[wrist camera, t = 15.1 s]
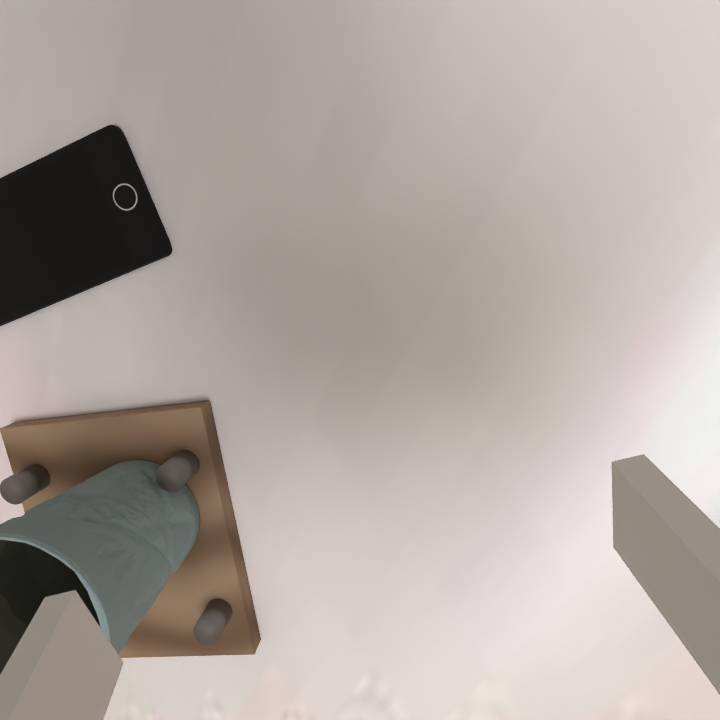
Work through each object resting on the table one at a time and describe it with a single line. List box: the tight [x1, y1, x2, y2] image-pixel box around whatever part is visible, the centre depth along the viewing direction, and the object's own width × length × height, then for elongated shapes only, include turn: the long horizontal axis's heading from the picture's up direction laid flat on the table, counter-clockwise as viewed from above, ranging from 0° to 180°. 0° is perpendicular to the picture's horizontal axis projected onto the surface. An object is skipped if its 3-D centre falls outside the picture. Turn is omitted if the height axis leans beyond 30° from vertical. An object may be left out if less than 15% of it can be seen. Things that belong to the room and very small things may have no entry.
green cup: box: [0, 460, 200, 674], centre depth 32 cm, size 10×10×12 cm
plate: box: [0, 401, 261, 658], centre depth 38 cm, size 20×16×4 cm
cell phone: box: [0, 125, 172, 326], centre depth 36 cm, size 9×18×1 cm, turn 111°
